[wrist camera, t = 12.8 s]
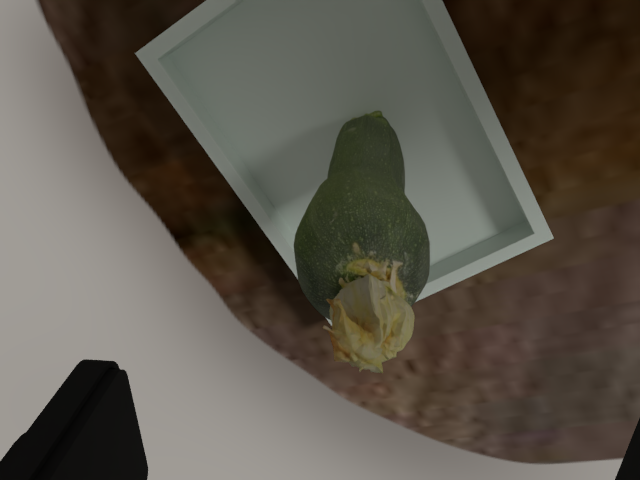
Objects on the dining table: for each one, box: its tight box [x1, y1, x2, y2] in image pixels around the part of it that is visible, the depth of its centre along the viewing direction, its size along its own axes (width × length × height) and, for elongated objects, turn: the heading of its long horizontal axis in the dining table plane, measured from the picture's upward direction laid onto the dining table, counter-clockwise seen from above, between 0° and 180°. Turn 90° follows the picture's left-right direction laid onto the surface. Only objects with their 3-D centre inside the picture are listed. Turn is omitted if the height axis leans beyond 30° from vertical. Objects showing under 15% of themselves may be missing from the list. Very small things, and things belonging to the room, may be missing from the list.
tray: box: [135, 0, 554, 326], centre depth 28 cm, size 20×14×2 cm
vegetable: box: [294, 111, 430, 373], centre depth 19 cm, size 4×4×20 cm
